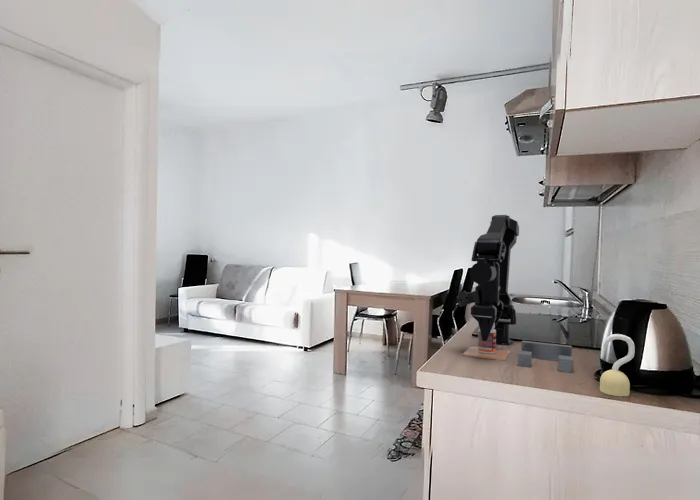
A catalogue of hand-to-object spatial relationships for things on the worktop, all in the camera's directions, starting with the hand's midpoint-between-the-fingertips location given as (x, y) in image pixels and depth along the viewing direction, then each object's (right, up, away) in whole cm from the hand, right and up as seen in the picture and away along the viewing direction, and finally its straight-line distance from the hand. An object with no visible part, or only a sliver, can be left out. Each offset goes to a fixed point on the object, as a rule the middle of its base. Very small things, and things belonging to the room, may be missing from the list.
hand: (487, 338), depth 120 cm
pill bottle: (0, -4, 0) cm, 4 cm away
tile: (0, -4, 0) cm, 4 cm away
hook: (+17, -5, -32) cm, 36 cm away
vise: (+13, -5, -7) cm, 16 cm away
